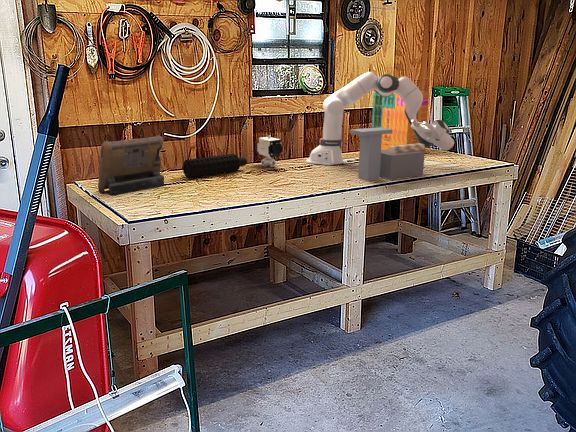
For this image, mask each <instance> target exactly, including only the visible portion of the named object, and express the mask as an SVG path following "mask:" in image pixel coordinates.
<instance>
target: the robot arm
mask: <svg viewBox="0 0 576 432" xmlns="http://www.w3.org/2000/svg"><path fill="white" fill-rule="evenodd" d="M372 91H373V92H374V91H375V92H376V93H378V94H379V95H380V96H382V97H389V96H391V95H392V94H393V93H396V94H398V95H399V96H400V97H401V99H402V100H403V101H404V104H405V115H406V117H407V119H408V121H409V123H410V125H411V128H412V129H413V131H414V133H415V135H416V137H417V140H418V142H419V143H421V144H425V148H430V147H431V146H433V145H435V146H436V147H438V148H439V149H441V150H442V151H449V150H450V149H452V148H453V147H454V144H455V140H454V139H453V138H452V137H451V135H450V126H449V125H448V124H447V123H446V122H445V121H444V120H442V119H436V120H434V121H433V122H432V123H428V121H427V122H423V123H421V122H418V121H417V119H416V114H417V111H418V109H419V108H420V106H421V104H422V102H423V95H422V93H421V91H422V90H420V88H419V87H418V86H417V85H416V83H415V82H413V81H412V80H411V78H410V77H408V76H400V78H399V77H397V76H393V75H392V74H387V73H385V74H382V75H380V76H377V74H376V73H374V72H372V71H367V72H365V73H363V74H361V75H359V76H358V77H356V78H355V79H353V80H352V81H351V82H349V83H347V84H346V85H345V86H344V87H342V88H340V89H338V90H337V91H335V92H334V93H332V94H330V95H329V96H328V97H326V98H325V99H324V101H323V103H322V108H323V110H324V116H323V117H324V119H323V128H322V129H323V131H322V135H323V136H322V138H320V139H319V145H318V146H316V147H315V148H314V149H312V150H311V152H310V155H309V158H306V160H305V163H307V164H315V165H327V166H332V165H339V164H343V163H344V160H343V159H344V158H343V155H342V154H343V153H342V148H343V139H342V133H343V132H342V131H343V128H342V126H343V119H344V109H346V108H347V107H349V106H351V105H353V104H355V103H356V102H358V101H360V99H363V98H364V97H365V96H366V95H368V94H369V93H370V92H372Z"/></svg>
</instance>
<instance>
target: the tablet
mask: <svg viewBox="0 0 576 432" xmlns="http://www.w3.org/2000/svg"><path fill="white" fill-rule="evenodd" d="M164 140H165V139H164V138H163V137H162V135H156V136H152V137H150V136H149V137H143V138H131V139H125V140H114V141H108V140H105V141H103V142H102V143H101V146H100V154H99V156H100V157H99V167H98V170H99V171H98V181H97V190H98V192H99V193H100V194H102V193H104V192H105V190H107V189H108V195H109V196H115V195H120V194H128V193H132V192H139V191H143V190H149V189H153V188H158V187H162V186H165V176H164V175H163V174H161V168H162V165H161V164H162V161H161V160H162V158H161V156H160V151H161V150H162V148H163V144H164V142H165V141H164Z"/></svg>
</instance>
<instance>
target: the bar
mask: <svg viewBox="0 0 576 432" xmlns="http://www.w3.org/2000/svg"><path fill="white" fill-rule="evenodd" d="M424 147H425V144H421V143H418V144H407V145H396V146H389V152H392V153H397V152H407V151H417V150H424ZM425 148H426V147H425Z"/></svg>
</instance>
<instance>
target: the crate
mask: <svg viewBox="0 0 576 432" xmlns="http://www.w3.org/2000/svg"><path fill="white" fill-rule="evenodd" d="M425 154H426V151H425V152H422V151H407V152H397V153H392V152H389V149H387V150H381V161H380V178H383V179H386V180H389V181H393V180H400V179H408V177H409V178H416V177H415V176H417V177H422V175H423V176H424V169H425Z"/></svg>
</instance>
